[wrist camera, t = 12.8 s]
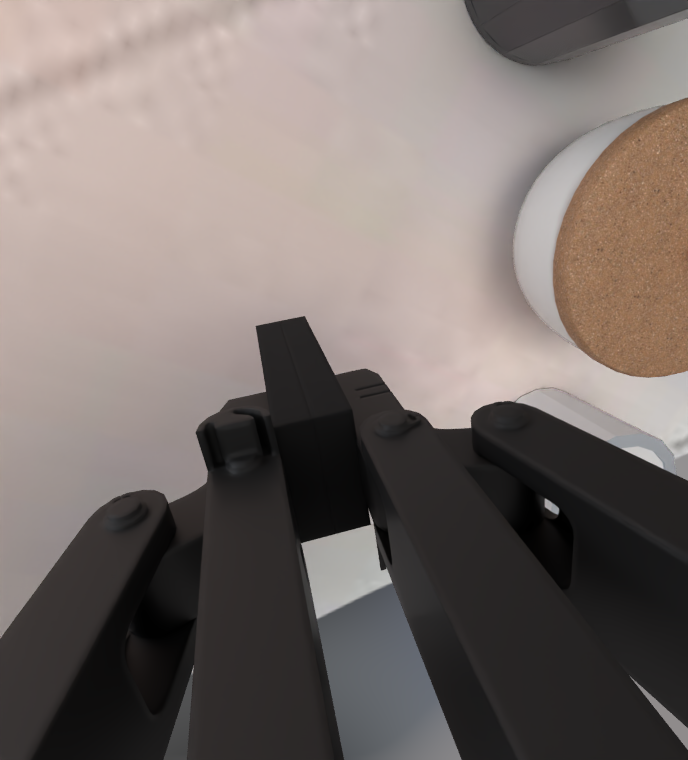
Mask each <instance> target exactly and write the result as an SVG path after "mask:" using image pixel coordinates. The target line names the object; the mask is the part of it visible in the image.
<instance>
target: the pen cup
mask: <svg viewBox="0 0 688 760" xmlns="http://www.w3.org/2000/svg"><path fill="white" fill-rule="evenodd" d="M465 3H466V6H467V9H468V12H469V14H470V16H471V18H472V21H473V23H474V24H475V26H476V28H477V29H478V31H479V33H480V34H481V35H482V36H483V38H484V39H485V40H486V41H487V43H488V44H489V45H491V46H492V47H493V48H494V49H495V50H496V51H497V52H499V53H500V54H502V55H503V56H505V57H507V58H509V59H511V60H513V61H515V62H519V63H523V64H529V65H546V64H550V63H555V62H558V61H563V60H569V59H572V58H575V57H578V56H580V55H583V54H586V53H589V52H592V51H595V50H598V49H601V48H604V47H607V46H609V45H612V44H615V43H618V42H621V41H624V40H627V39H630V38H633V37H635V36H638V35H641V34H644V33H647V32H650V31H653V30H656V29H659V28H661V27H664V26H667V25H670V24H673V23H676V22H679V21H682V20H685V19H688V0H465Z"/></svg>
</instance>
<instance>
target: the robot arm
mask: <svg viewBox="0 0 688 760" xmlns="http://www.w3.org/2000/svg"><path fill="white" fill-rule="evenodd" d="M256 330H257V337H258V343H259V349H260V355H261V361H262V367H263V374H264V380H265V386H266V392H263V393H259V394H254V395H250V396H245V397H241V398H236V399H232V400H228V402H227V403H226V404H225V405H224V407H223V408H222V409H221V410H220V412H218V413H216V414H214V415H212V416H210V417H208V418H207V419H206V420H205V421H203V422H202V423H201V424H200V425H199V427H198V429H197V431H196V435H197V438H198V441H199V444H200V448H201V451H202V454H203V457H204V460H205V464H206V467H207V470H208V478H207V483H206V484H205V485H203V486H202V487H200V488H199V489H198V490H196V491H194V492H192V493H191V494H189V495H187V496H185V497H182V498H180V499H178V500H176V501H173V502H171V503H169V504H168V502H167V500H166V498H165V496H164V494H162V493H160V492H158V491H155V490H141V491H136V492H130V493H126V494H123V495H122V496H118V497H116V498H114V499H112V500H111V501H110V502H108V503H107V504H105V505H104V506H102V507H100V508H99V509H98V510H97V511H96V512H95V513H94V514H93V515H92V516H91V517H90V518H89V519H88V520H87V522H86V523H85V524H84V526H83V527H82V529H81V530H80V531H79V533H78V534H77V535H76V537H75V538H74V539H73V541H72V542H71V543H70V545H69V546H68V548H67V549H66V550H65V552H64V553H63V554H62V556H61V557H60V558H59V560H58V561H57V563H56V564H55V565H54V567H53V568H52V569H51V571H50V572H49V573H48V575H47V576H46V577H45V579H44V580H43V582H42V583H41V584H40V586H39V587H38V588H37V590H36V591H35V592H34V594H33V595H32V596H31V598H30V599H29V601H28V602H27V603H26V605H25V606H24V607H23V609H22V610H21V611H20V613H19V614H18V615H17V617H16V618H15V620H14V621H13V622H12V624H11V625H10V626H9V628H8V629H7V630H6V632H5V633H4V634H3V636H2V637H1V639H0V760H163V759H164V756H165V753H166V750H167V747H168V743H169V740H170V737H171V734H172V731H173V728H174V725H175V721H176V718H177V715H178V712H179V709H180V706H181V703H182V700H183V697H184V694H185V690H186V687H187V684H188V681H189V678H190V675H191V672H192V669H193V666H194V671H193V685H192V699H191V713H190V728H189V741H188V755H187V760H344V757H343V752H342V747H341V742H340V737H339V731H338V726H337V721H336V717H335V711H334V706H333V701H332V696H331V690H330V685H329V680H328V675H327V671H326V665H325V660H324V655H323V649H322V644H321V639H320V634H319V629H318V624H317V619H316V614H315V609H314V603H313V598H312V593H311V588H310V583H309V578H308V573H307V568H306V562H305V558H304V554H303V550H302V545H301V543H303V542H307V541H311V540H314V539H318V538H322V537H326V536H329V535H333V534H337V533H341V532H344V531H348V530H352V529H356V528H360V527H363V526H367V525H371V524H370V517H369V511H370V514H371V516H372V519H373V522H374V529H375V535H376V542H377V548H378V555H379V561H380V567H381V570H384V569H386V567H387V570H388V572H389V575H390V577H391V580H392V582H393V585H394V588H395V590H396V593H397V595H398V598H399V600H400V602H401V606H402V608H403V610H404V613H405V616H406V618H407V621H408V623H409V626H410V628H411V631H412V634H413V636H414V639H415V641H416V644H417V646H418V649H419V652H420V654H421V656H422V659H423V662H424V664H425V667H426V669H427V672H428V675H429V677H430V679H431V682H432V685H433V687H434V690H435V693H436V695H437V698H438V700H439V703H440V705H441V708H442V710H443V713H444V716H445V718H446V721H447V723H448V726H449V728H450V731H451V733H452V736H453V739H454V741H455V744H456V746H457V749H458V751H459V754H460V757H461V759H462V760H688V750H687V749H686V747H685V746H684V745H683V743H682V742H681V741H680V740H679V738H678V737H677V736H676V735H675V733H674V732H673V731H672V729H671V728H670V727H669V726H668V724H667V723H666V722H665V721H664V719H663V718H662V717H661V716H660V714H659V713H658V712H657V710H656V709H655V708H654V707H653V705H652V704H651V703H650V702H649V700H648V699H647V698H646V697H645V695H644V694H643V693H642V691H641V690H640V689H639V688H638V686H637V685H636V684H635V683H634V681H633V680H632V679H631V678H630V676H631V677H632V678H633V679H634V680H635V681H636V682H637V683H638V684H639V685H641V686H642V687H643V688H644V689H645V690H646V691H647V692H648V693H649V694H651V695H652V696H653V697H654V698H655V699H656V700H657V701H658V702H660V703H661V704H662V705H663V706H664V707H665V708H666V709H667V710H668V711H670V712H671V713H672V714H673V715H674V716H675V717H676V718H677V719H678V720H680V721H681V722H682V723H683V724H684V725H685V726H686V727H687V728H688V481H687V480H685V479H683V478H681V477H679V476H677V475H675V474H673V473H671V472H669V471H667V470H664V469H662V468H660V467H658V466H656V465H654V464H652V463H650V462H648V461H646V460H644V459H642V458H640V457H637V456H635V455H633V454H631V453H629V452H627V451H625V450H623V449H621V448H619V447H617V446H615V445H612V444H610V443H608V442H606V441H604V440H602V439H600V438H598V437H596V436H594V435H592V434H590V433H588V432H585V431H583V430H581V429H579V428H577V427H575V426H573V425H571V424H569V423H567V422H565V421H563V420H561V419H558V418H556V417H554V416H552V415H550V414H548V413H546V412H544V411H542V410H540V409H538V408H536V407H533V406H530V405H527V404H523V403H515V402H511V401H504V402H496V403H493V404H489V405H485V406H483V407H481V408H479V409H478V410H476V411H475V412H474V414H473V415H472V417H471V428H464V429H435V428H433V427H432V425H431V424H430V423H429V421H428V420H427V419H426V418H425V417H423V416H422V415H421V414H419V413H417V412H413V411H410V410H404V408H403V407H402V406H401V404H400V403H399V402H398V400H397V399H396V397H395V396H394V395H393V393H392V392H390V389H389V388H388V387H387V385H386V384H385V382H384V381H383V380H382V378H381V377H380V376H379V374H377V373H375V372H372V371H370V370H368V369H360V370H356V371H351V372H347V373H342V374H338V375H334V373H333V371H332V369H331V367H330V365H329V363H328V361H327V359H326V357H325V355H324V353H323V351H322V349H321V347H320V345H319V343H318V341H317V340H316V338H315V336H314V334H313V332H312V330H311V328H310V326H309V324H308V322H307V320H306V318H305V316H303V317H298V318H293V319H288V320H283V321H278V322H274V323H269V324H264V325H259V326H256ZM545 499H547V500H548V501H550V502H551V503H553V504H554V505H556V506H557V507H558V508H559V513H558V515H557V514H555V513H553V512H552V511H550V510H549V509H547V508H546V507H545ZM368 509H369V511H368Z"/></svg>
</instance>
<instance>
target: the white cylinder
mask: <svg viewBox="0 0 688 760" xmlns="http://www.w3.org/2000/svg"><path fill="white" fill-rule="evenodd" d="M515 403H523V404H527V405H530V406H533V407H536V408H538V409H540V410H542V411H544V412H546V413H548V414H550V415H552V416H554V417H556V418H558V419H561V420H563V421H565V422H567V423H569V424H571V425H573V426H575V427H577V428H579V429H581V430H583V431H585V432H588V433H590V434H592V435H594V436H596V437H598V438H600V439H602V440H604V441H606V442H608V443H610V444H612V445H615V446H617V447H619V448H621V449H623V450H625V451H627V452H629V453H631V454H633V455H635V456H637V457H640V458H642V459H644V460H646V461H648V462H650V463H652V464H654V465H656V466H658V467H660V468H662V469H664V470H667V471H669V472H671V473H673V474H675V475H676V467H675V460H674V455H673V453H672V452H671V451H670V450H669V449H668V447H667V446H666V445H665V444H664V442H663V441H662V440H660V439H658V438H656V437H654V436H652V435H650V434H648V433H646V432H644V431H642V430H640V429H638V428H636V427H634V426H632V425H630V424H628V423H626V422H624V421H622V420H620V419H618V418H617V417H615V416H613V415H611V414H609V413H607V412H605V411H603V410H601V409H599V408H597V407H595V406H593V405H591V404H589V403H587V402H585V401H583V400H581V399H579V398H577V397H575V396H573V395H571V394H569V393H566V392H564V391H561V390H558V389H555V388H548V389H537V390H535V391H533V392H530V393H528V394H526V395H524V396H522V397H520V398H519V399H518V400H517V401H516V402H515ZM545 507H546V508H547V509H549V510H550V511H552V512H553V513H555V514H557V515H558V513H559V508H558V507H557V506H556V505H554V504H553V503H551V502H550V501H548V500H547V499H545Z"/></svg>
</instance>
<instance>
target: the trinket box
mask: <svg viewBox="0 0 688 760" xmlns="http://www.w3.org/2000/svg"><path fill="white" fill-rule="evenodd" d="M513 263H514V269H515V274H516V277H517V280H518V283H519V286H520V289H521V291H522V293H523V295H524V297H525V299H526V301H527V302H528V304H529V306H530V307H531V308H532V309H533V311H534V312H535V313H536V314H537V316H538V317H539V318H540V319H541V320H542V321H543V322H544V324H546V325H547V326H548V327H549V328H550V329H552V330H553V331H554V332H555V333H557V334H558V335H559V336H560V337H561V338H563V339H564V340H565V341H567V342H568V343H570V344H572V345H573V346H575V347H577V348H579V349H580V350H582V351H583V352H585V353H586V354H587V355H588V356H589V357H591V358H592V359H594V360H595V361H597V362H599V363H601V364H603V365H605V366H606V367H608V368H610V369H612V370H614V371H616V372H620V373H623V374H626V375H630V376H637V377H648V378H649V377H661V376H668V375H672V374H677V373H681V372H685V371H688V98H685V99H682V100H679V101H676V102H673V103H671V104H668V105H662V106H657V107H652V108H648V109H643V110H640V111H637V112H634V113H631V114H629V115H626V116H623V117H620V118H617V119H615V120H612V121H609V122H607V123H605V124H603V125H601V126H599V127H597V128H595V129H593V130H592V131H590V132H588V133H586V134H584V135H583V136H581V137H579V138H578V139H576V140H575V141H574V142H572V143H571V144H570V145H568V146H567V147H566V148H565V149H563V150H562V151H561V152H560V153H559V154H558V155H557V156H556V157H555V158H554V159H553V160H552V161H551V162H550V163H549V164H548V165H547V166H546V167H545V168H544V169H543V171H542V172H541V173H540V175H539V176H538V177H537V179H536V180H535V181H534V183H533V185H532V186H531V188H530V190H529V192H528V193H527V195H526V197H525V199H524V202H523V204H522V207H521V209H520V211H519V215H518V219H517V222H516V226H515V231H514V239H513Z"/></svg>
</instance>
